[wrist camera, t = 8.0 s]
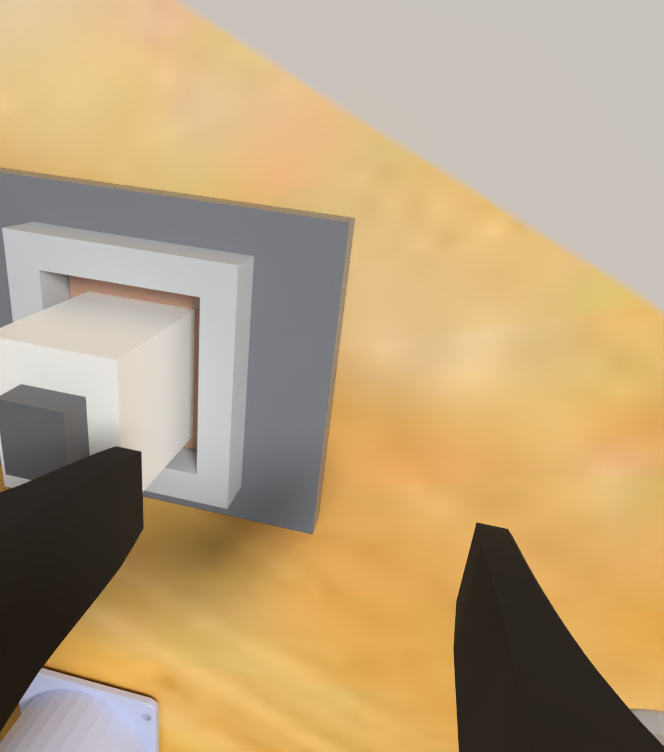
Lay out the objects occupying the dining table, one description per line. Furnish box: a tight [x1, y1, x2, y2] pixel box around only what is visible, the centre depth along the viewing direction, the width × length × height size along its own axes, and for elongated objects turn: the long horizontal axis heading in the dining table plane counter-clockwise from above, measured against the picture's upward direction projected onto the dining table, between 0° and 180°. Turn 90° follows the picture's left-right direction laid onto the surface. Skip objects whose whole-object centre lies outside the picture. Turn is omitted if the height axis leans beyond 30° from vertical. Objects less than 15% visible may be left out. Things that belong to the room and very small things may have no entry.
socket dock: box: [0, 168, 355, 534], centre depth 21 cm, size 12×14×2 cm
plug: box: [0, 291, 195, 491], centre depth 19 cm, size 5×4×6 cm
